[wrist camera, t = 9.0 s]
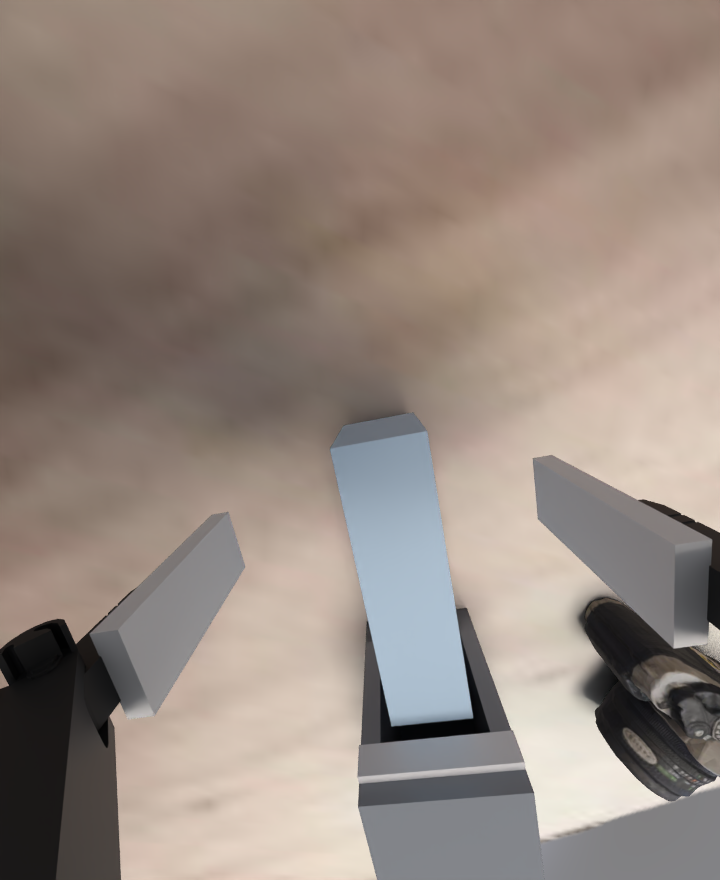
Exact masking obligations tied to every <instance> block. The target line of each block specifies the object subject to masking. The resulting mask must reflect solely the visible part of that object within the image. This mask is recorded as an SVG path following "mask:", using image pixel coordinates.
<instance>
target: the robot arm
mask: <svg viewBox="0 0 720 880" xmlns="http://www.w3.org/2000/svg"><path fill="white" fill-rule="evenodd" d="M533 468H534V479H535V491H536V502H537V514H538V520H539V521H540V522H541V523H543V524H544V525H545V526H546V527H547V528H548V529H549V530H550V531H551V532H552V533H553V534H554V535H555V536H556V537H557V538H558V539H559V540H560V541H561V542H562V543H564V544H565V545H566V546H567V547H568V548H569V549H570V550H571V551H572V552H573V553H574V554H575V555H576V556H577V557H578V558H579V559H580V560H581V561H582V562H583V563H584V564H586V565H587V566H588V567H589V568H590V569H591V570H592V571H593V572H594V573H595V574H596V575H597V576H598V577H599V578H600V579H601V580H602V581H603V582H604V583H605V584H606V585H608V586H609V587H610V588H611V589H612V590H613V591H614V592H615V593H616V594H617V595H618V596H619V597H620V598H621V599H622V600H623V601H624V602H625V603H626V604H627V605H629V606H630V607H631V608H632V609H633V610H634V611H635V612H636V613H637V614H638V615H639V616H640V617H641V618H642V619H643V620H644V621H645V622H646V623H647V624H648V625H649V626H651V627H652V628H653V629H654V630H655V631H656V632H657V633H658V634H659V635H660V636H661V637H662V638H663V639H664V640H665V641H666V642H667V643H668V644H669V645H670V646H671V647H673V648H682V647H690V646H697V645H705V644H708V631H709V622H710V623H712V624H713V625H714V626H715V627H717V628H718V629H719V630H720V533H719V532H717V531H715V530H713V529H711V528H709V527H707V526H705V525H703V524H701V523H699V522H695V520H693V519H691V518H689V517H687V516H685V515H681V513H679V512H677V511H675V510H673V509H671V508H669V507H667V506H665V505H661V504H658V503H654V502H651V501H647V500H644V499H643V500H636V499H634V498H632V497H631V496H629V495H627V494H625V493H623V492H621V491H619V490H617V489H615V488H613V487H612V486H610V485H608V484H606V483H604V482H602V481H600V480H598V479H596V478H595V477H593V476H591V475H589V474H587V473H585V472H583V471H581V470H579V469H577V468H576V467H574V466H572V465H570V464H568V463H566V462H564V461H562V460H560V459H558V458H557V457H555V456H553V455H549V456H543V457H538V458H533ZM244 568H245V564H244V561H243V557H242V554H241V551H240V548H239V545H238V541H237V538H236V535H235V532H234V529H233V525H232V522H231V519H230V516H229V512H225V513H219V514H214V515H211V516H210V517H209V518H208V519H207V520H206V521H205V522H204V523H203V524H202V525H201V526H200V527H199V528H198V529H197V530H196V531H195V532H194V533H193V534H192V535H191V536H190V537H189V538H187V539H186V540H185V541H184V542H183V543H182V544H181V545H180V546H179V547H178V548H177V549H176V550H175V551H174V552H173V553H172V554H171V555H170V556H169V557H168V558H167V559H166V560H165V561H164V562H163V563H162V564H161V565H160V566H159V567H158V568H157V569H156V570H155V571H154V572H153V573H152V574H151V575H149V576H148V577H147V578H146V579H145V580H144V581H143V582H142V583H141V584H140V585H139V586H138V587H137V588H135V589H134V590H133V591H131V592H130V593H129V594H128V595H127V596H126V597H124V598H123V599H122V600H121V601H120V602H119V603H118V606H115V607H114V608H113V609H112V610H111V611H110V612H109V613H108V615H107V616H105V617H104V618H103V619H102V620H101V621H100V622H99V623H98V624H96V625H95V626H94V627H93V628H92V629H91V630H90V631H89V632H88V633H87V634H86V635H85V636H84V637H83V638H82V639H81V640H80V641H79V642H78V643H77V644H75V642H74V640H73V638H72V635H71V633H70V631H69V629H68V627H67V625H66V623H65V620H63V619H56V620H51V621H47V622H45V623H42V624H40V625H37V626H35V627H33V628H31V629H29V630H27V631H25V632H23V633H22V634H20V635H19V636H17V637H15V638H14V639H12V640H11V641H9V642H8V643H7V644H6V645H5V646H4V647H2V648H1V649H0V669H1V671H2V673H3V675H4V677H5V679H6V681H7V682H8V684H9V686H7V687H4V688H2V689H0V880H121V871H120V848H119V825H118V802H117V778H116V755H115V732H114V725H113V723H112V721H111V719H110V717H109V716H110V715H111V713H112V712H113V710H114V709H115V708H116V706H117V705H118V704H119V702H120V703H121V705H122V707H123V710H124V712H125V714H126V716H127V719H135V718H142V717H150V716H155V714H156V713H157V711H158V710H159V708H160V706H161V705H162V703H163V701H164V700H165V698H166V696H167V695H168V693H169V691H170V690H171V688H172V687H173V685H174V683H175V682H176V680H177V678H178V677H179V675H180V673H181V672H182V670H183V668H184V667H185V665H186V663H187V662H188V660H189V659H190V657H191V655H192V654H193V652H194V650H195V649H196V647H197V645H198V644H199V642H200V640H201V639H202V637H203V635H204V634H205V632H206V631H207V629H208V627H209V626H210V624H211V622H212V621H213V619H214V617H215V616H216V614H217V612H218V611H219V609H220V608H221V606H222V604H223V603H224V601H225V599H226V598H227V596H228V594H229V593H230V591H231V589H232V588H233V586H234V584H235V583H236V581H237V580H238V578H239V576H240V575H241V573H242V571H243V570H244Z"/></svg>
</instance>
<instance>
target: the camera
mask: <svg viewBox="0 0 720 880" xmlns="http://www.w3.org/2000/svg"><path fill="white" fill-rule="evenodd" d="M585 620H586V622H587V623H586V626H585V631H586V634H587V635H588V637H589V639H590V641H591V643H592V645H593V646H594V648H595V650H596V651H597V652H598V653H599V655H600V656H601V657H602V659H603V660H604V661H605V663H606V664H607V665H608V667H609V668H610V669H611V671H612V672H613V673H614V674H615V676H616V677H617V678H618V680H619V681H618V682H617V683H616V684H615V685H614V686H613V687H612V689H611V690H610V691H609V692H608V694H607V695H606V697H605V698H604V700H603V702H602V703H601V705H600V706H599V707H598V708H597V709H596V710H595V716H596V724H597V727H598V729H599V731H600V732H601V734H602V735H603V737H604V739H605V740H606V742H607V743H608V745H609V746H610V748H611V749H612V751H613V752H614V753H615V755H616V756H617V757H618V758H619V759H620V761H621V762H622V763H623V764H624V765H625V766H626V767H627V768H628V769H629V771H630V772H631V773H632V774H633V775H634V776H635V777H636V778H637V779H638V780H639V781H640V782H641V783H642V784H644V785H645V786H646V787H647V788H648V789H649V790H651V791H652V792H654V793H655V794H657V795H658V796H660V797H662V798H664V799H666V800H668V801H675V800H677V799H678V798H679V797H681V796H690V795H691V794H692V793H693V792H694V791H695V790H696V789H697V788H698V787H700V786H702V785H705V784H708V783H710V782H713V781H715V780H716V777H717V776H719V777H720V663H719V662H718V661H716V660H715V659H713V658H711V657H709V656H706V655H704V654H702V653H701V652H700V651H698V650H697V649H695V648H693V647H692V646H690V647H682V648H673V647H671V646H670V645H669V644H668V643H667V642H666V641H665V640H664V639H663V638H662V637H661V636H660V635H659V634H658V633H657V632H656V631H655V630H654V629H653V628H652V627H651V626H649V625H648V624H647V623H646V622H645V621H644V620H643V619H642V618H641V617H640V616H639V615H637V614H636V613H634V612H633V611H632V610H630V609H629V608H628V607H627V606H626V605H624V604H622V603H620V602H619V601H616V600H612V599H608V598H604V599H601V600H597V601H593V602H592V603H591V604H590V605H589V607H588V609H587V611H586V614H585Z"/></svg>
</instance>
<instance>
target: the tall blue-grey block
mask: <svg viewBox="0 0 720 880" xmlns="http://www.w3.org/2000/svg"><path fill="white" fill-rule="evenodd" d="M330 452H331V456H332V461H333V465H334V469H335V474H336V478H337V483H338V487H339V492H340V496H341V501H342V505H343V510H344V514H345V519H346V523H347V528H348V532H349V537H350V541H351V546H352V550H353V555H354V559H355V564H356V568H357V573H358V577H359V582H360V586H361V591H362V595H363V600H364V604H365V609H366V613H367V618H368V622H369V627H370V631H371V636H372V640H373V645H374V649H375V654H376V658H377V663H378V667H379V672H380V676H381V681H382V685H383V690H384V694H385V699H386V703H387V708H388V712H389V717H390V721H391V726H402V725H412V724H421V723H431V722H441V721H451V720H461V719H471V718H473V713H472V707H471V701H470V695H469V688H468V682H467V676H466V670H465V664H464V657H463V651H462V645H461V639H460V632H459V626H458V620H457V614H456V607H455V601H454V595H453V589H452V583H451V576H450V570H449V564H448V558H447V551H446V545H445V539H444V533H443V527H442V520H441V514H440V508H439V502H438V495H437V489H436V483H435V477H434V470H433V464H432V458H431V452H430V446H429V439H428V433H427V430H426V429H425V427H424V426H423V425H422V424H421V422H420V421H419V420H418V418H417V417H416V416H415V414H414V413H407V414H402V415H397V416H391V417H386V418H381V419H375V420H370V421H365V422H359V423H354V424H349V425H344V426H343V427H342V429H341V431H340V433H339V434H338V436H337V438H336V439H335V441H334V443H333V444H332V446H331V448H330Z"/></svg>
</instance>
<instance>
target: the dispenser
mask: <svg viewBox="0 0 720 880" xmlns="http://www.w3.org/2000/svg"><path fill="white" fill-rule="evenodd" d="M456 614H457V620H458V626H459V632H460V639H461V645H462V651H463V657H464V664H465V670H466V676H467V682H468V688H469V695H470V701H471V707H472V713H473V718H471V719H461V720H451V721H441V722H431V723H421V724H412V725H402V726H391V721H390V717H389V712H388V708H387V703H386V699H385V694H384V690H383V685H382V681H381V676H380V672H379V667H378V663H377V658H376V654H375V649H374V645H373V640H372V636H371V631H370V627H369V622H368V621H367V627H366V649H365V671H364V692H363V714H362V735H361V745H359V757H358V781H359V800H358V808H359V812H360V816H361V819H362V823H363V827H364V831H365V835H366V838H367V842H368V846H369V850H370V854H371V857H372V861H373V865H374V869H375V873H376V877H377V880H545V878H544V870H543V862H542V854H541V846H540V837H539V829H538V821H537V813H536V805H535V797H534V791H533V789H532V786H531V783H530V780H529V778H528V775H527V772H526V769H525V762H524V759H523V757H522V754H521V751H520V748H519V746H518V743H517V740H516V738H515V735H514V732H513V730H511V728H510V726H509V723H508V720H507V717H506V715H505V712H504V709H503V706H502V704H501V701H500V698H499V695H498V693H497V690H496V687H495V685H494V682H493V679H492V676H491V674H490V671H489V668H488V665H487V663H486V660H485V657H484V654H483V652H482V649H481V646H480V643H479V641H478V638H477V635H476V632H475V630H474V627H473V624H472V621H471V619H470V616H469V613H468V611H467V608H465V609H458V610H456Z"/></svg>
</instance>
